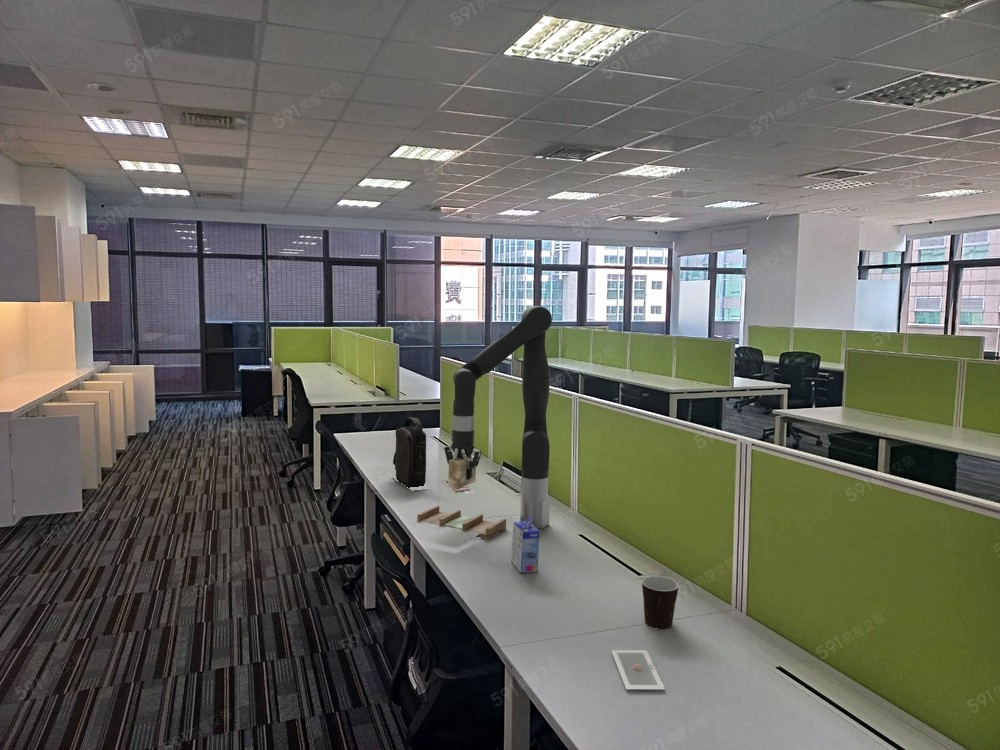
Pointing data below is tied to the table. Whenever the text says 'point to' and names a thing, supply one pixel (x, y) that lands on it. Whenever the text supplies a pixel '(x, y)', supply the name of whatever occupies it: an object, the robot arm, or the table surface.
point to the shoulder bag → (410, 454)
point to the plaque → (464, 489)
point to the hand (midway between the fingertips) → (462, 477)
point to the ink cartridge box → (525, 546)
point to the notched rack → (462, 522)
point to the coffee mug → (659, 601)
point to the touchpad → (637, 669)
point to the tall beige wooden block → (459, 474)
